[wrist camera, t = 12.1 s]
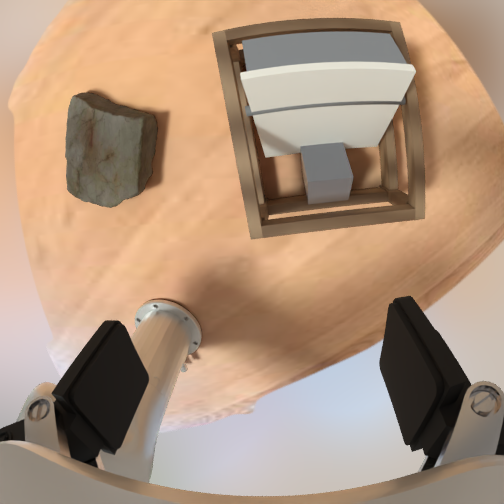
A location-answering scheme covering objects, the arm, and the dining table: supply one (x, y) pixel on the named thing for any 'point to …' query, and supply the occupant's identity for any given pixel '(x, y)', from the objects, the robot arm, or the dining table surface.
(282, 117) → the hatch leaf
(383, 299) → the dining table surface
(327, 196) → the basalt block
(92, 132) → the marble piece
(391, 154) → the walnut hatch frame
